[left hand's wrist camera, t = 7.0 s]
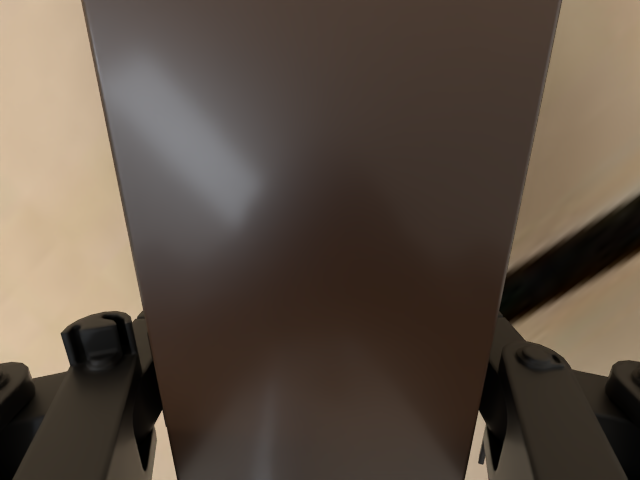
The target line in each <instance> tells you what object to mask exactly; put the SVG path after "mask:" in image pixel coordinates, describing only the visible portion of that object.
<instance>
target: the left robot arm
mask: <svg viewBox="0 0 640 480" xmlns="http://www.w3.org/2000/svg"><path fill="white" fill-rule="evenodd" d="M61 336H62V339H63V343H64V346H65V349H66V353H67V356H68V359H69V363H70V368H69V370H68V371H67V372H63V373H58V374H53V375H48V376H43V377H38V378H33V379H32V377H31V374H30V371H29V369H28V367H27V366H26V365H24V364H23V363H17V362H9V363H2V364H0V480H152V472H153V465H154V457H155V450H156V442H157V438H156V431H155V427H154V424H155V422H156V420H157V419H158V417H159V415H160V413H161V411H162V410H163V406H162V401H161V396H160V391H159V386H158V381H157V376H156V371H155V366H154V361H153V356H152V351H151V346H150V341H149V336H148V331H147V326H146V321H145V316H144V311H142V312H141V313H140V314H139V316H138V317H137V319H135V320H134V321H133V322H132V321H131V317H130V316H129V315H128V314H126V313H123V312H118V311H111V312H102V313H97V314H93V315H90V316H87V317H84V318H82V319H79V320H77V321H76V322H74V323H72V324H71V325H69V326H67V327H66V328H65V329H64V331H63V332H62V333H61ZM479 411H480V413H481V415H482V417H483V419H484V420H485V422H486V427H485V431H484V436H483V441H482V445H481V450H480V454H479V461H478V463H479V464H484V459H485V456H486V464H487V471H488V479H489V480H640V362H636V361H630V360H627V361H618V362H617V363H615V364H614V365H613V366H612V369H611V371H610V374H609V377H605V376H600V375H595V374H590V373H585V372H581V371H576V370H572V369H571V367H570V365H569V364H568V363H567V362H566V360H565V359H564V358H563V357H562V356H560V355H559V354H557V353H556V352H555V351H553V350H551V349H549V348H547V347H544V346H542V345H539V344H536V343H532V342H527V341H525V340H524V339H523V337H522V336H521V335H520V334H519V333H518V332H517V331H516V330H515V328H514V327H513V326H512V325H511V324H510V323H509V322H508V321H507V320H506V318H503V315H502V314H501V313H500V312H499V313H498V317H497V322H496V327H495V332H494V337H493V342H492V347H491V352H490V357H489V362H488V367H487V372H486V376H485V381H484V386H483V391H482V396H481V401H480V406H479ZM163 415H164V411H163ZM164 420H165V416H164ZM165 425H166V421H165ZM166 427H167V426H166Z"/></svg>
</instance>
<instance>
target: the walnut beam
mask: <svg viewBox="0 0 640 480" xmlns="http://www.w3.org/2000/svg"><path fill="white" fill-rule="evenodd" d="M81 1H82V6H83V11H84V16H85V21H86V26H87V31H88V36H89V41H90V46H91V51H92V56H93V61H94V66H95V71H96V76H97V81H98V86H99V91H100V96H101V101H102V106H103V111H104V116H105V121H106V126H107V131H108V136H109V141H110V146H111V151H112V156H113V161H114V166H115V171H116V176H117V181H118V186H119V191H120V196H121V201H122V206H123V211H124V216H125V221H126V226H127V231H128V236H129V241H130V246H131V251H132V256H133V261H134V266H135V271H136V276H137V281H138V286H139V291H140V296H141V301H142V306H143V311H144V316H145V321H146V326H147V331H148V336H149V341H150V346H151V351H152V356H153V361H154V366H155V371H156V376H157V381H158V386H159V391H160V396H161V401H162V406H163V411H164V416H165V421H166V426H167V431H168V436H169V441H170V446H171V451H172V456H173V461H174V466H175V471H176V476H177V480H465V475H466V470H467V465H468V460H469V455H470V450H471V445H472V440H473V435H474V430H475V426H476V421H477V416H478V411H479V406H480V401H481V396H482V391H483V386H484V381H485V376H486V372H487V367H488V362H489V357H490V352H491V347H492V342H493V337H494V332H495V327H496V322H497V317H498V313H499V308H500V303H501V298H502V293H503V288H504V283H505V278H506V273H507V268H508V263H509V258H510V254H511V249H512V244H513V239H514V234H515V229H516V224H517V219H518V214H519V209H520V204H521V200H522V195H523V190H524V185H525V180H526V175H527V170H528V165H529V160H530V155H531V150H532V145H533V141H534V136H535V131H536V126H537V121H538V116H539V111H540V106H541V101H542V96H543V91H544V86H545V82H546V77H547V72H548V67H549V62H550V57H551V52H552V47H553V42H554V37H555V32H556V28H557V23H558V18H559V13H560V8H561V3H562V0H81Z"/></svg>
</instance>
